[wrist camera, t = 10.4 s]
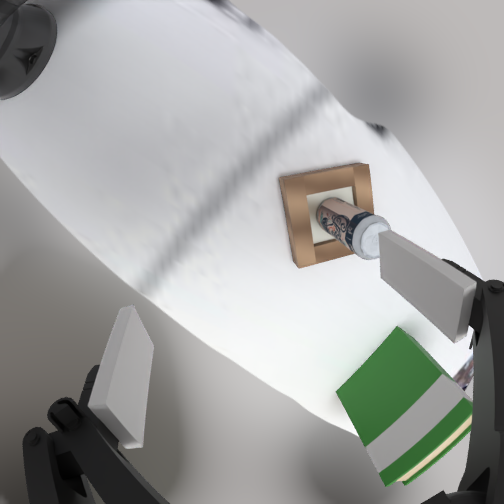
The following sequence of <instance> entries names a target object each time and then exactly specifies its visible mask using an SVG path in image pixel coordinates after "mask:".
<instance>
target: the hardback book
mask: <svg viewBox="0 0 504 504" xmlns="http://www.w3.org/2000/svg"><path fill="white" fill-rule="evenodd" d="M336 393H337V395H338V397H339V399H340V401H341V402H342V404H343V406H344V408H345V410H346V412H347V414H348V416H349V418H350V419H351V421H352V423H353V425H354V427H355V429H356V431H357V433H358V435H359V437H360V439H361V440H362V442H363V444H364V446H365V448H366V450H367V452H368V454H369V456H370V458H371V460H372V461H373V463H374V465H375V467H376V469H377V471H378V473H379V475H380V477H381V479H382V481H383V482H384V484H385V487H386V486H390V485H391V484H392V483H394V482H396V481H402V482H403V484H404V485H407V484H409V483H410V482H412V481H413V480H414V479H416V478H417V477H418V476H420V475H421V474H422V473H424V472H425V471H426V470H427V469H429V468H430V467H431V466H432V465H433V464H435V463H436V462H437V461H438V460H439V459H441V458H442V457H443V456H444V455H445V454H446V453H447V452H449V451H450V450H451V449H452V448H453V447H454V446H455V445H456V444H457V443H459V441H461V440H462V439H463V438H464V437H465V436H466V435H467V434H468V433H469V432H470V431H471V423H472V410H473V401H472V400H471V398H470V397H469V396H468V395H467V394H466V393H465V392H464V391H463V390H462V388H461V387H460V386H459V385H458V384H457V383H456V382H455V381H454V380H453V379H452V378H451V377H450V375H449V374H448V373H447V372H446V371H445V370H444V369H443V368H442V367H441V366H440V365H439V364H438V363H437V362H436V361H435V360H434V359H433V357H432V356H431V355H430V354H429V353H428V352H427V351H426V350H425V349H424V348H423V347H422V346H421V345H420V344H419V343H418V342H417V341H416V340H415V339H414V338H413V337H411V336H410V335H409V334H407V333H406V332H405V331H403V330H402V329H400V328H399V327H398V326H396V328H395V329H394V330H393V331H392V332H391V334H390V335H389V336H388V337H387V338H386V339H385V341H384V342H383V343H382V344H381V345H380V346H379V347H378V348H377V350H376V351H375V352H374V353H373V354H372V355H371V356H370V357H369V358H368V359H367V360H366V362H365V363H364V364H363V365H362V366H361V367H360V368H359V369H358V370H357V371H356V372H355V373H354V374H353V375H352V376H351V377H350V378H349V379H348V380H347V381H346V382H345V383H344V384H343V385H342V386H341V387H340V388H339V389H338V390H337V391H336Z"/></svg>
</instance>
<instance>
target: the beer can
mask: <svg viewBox="0 0 504 504" xmlns="http://www.w3.org/2000/svg"><path fill="white" fill-rule="evenodd" d="M317 221H318V223H319V225H320V227H321V228H322V229H323V230H325V231H326V232H327V233H329V234H330V235H331V236H333V237H334V238H335V239H337V240H338V241H339V242H341V243H342V244H343V245H345V246H346V247H347V248H349V249H350V250H351V251H352V252H354V253H355V254H356V255H358V256H359V257H361V258H362V259H366V260H372V259H377V258H379V257H380V251H379V235H378V233H380V232H383V231H387V230H391V228H390V225H389V224H388V222H387V221H386V220H385V219H384V218H383V217H380V216H377V215H374V214H372V213H370V212H368V211H366V210H363V209H361V208H359V207H357V206H355V205H352V204H350V203H348V202H345V201H344V200H342V199H340V198H337V197H332V198H329V199H326V200H325V201H324V202H323V203H322V204H321V205H320V207H319V208H318V211H317Z"/></svg>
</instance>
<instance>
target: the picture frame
mask: <svg viewBox="0 0 504 504" xmlns="http://www.w3.org/2000/svg"><path fill="white" fill-rule="evenodd" d="M279 182H280V187H281V192H282V198H283V203H284V209H285V215H286V220H287V226H288V232H289V238H290V244H291V250H292V256H293V262H294V263H295V264H296V266H297V267H298V268H303V267H307V266H310V265H314V264H318V263H322V262H325V261H329V260H333V259H337V258H340V257H344V256H347V255H351V254H355V253H354V252H352V251H351V250H350V249H349V248H347V247H346V246H345V245H343V244H342V243H341V242H339V241H338V240H337V239H335V238H334V237H333V236H331V235H330V234H329V233H327V232H326V231H325V230H323V229H322V228H321V227H320V225H319V223H318V221H317V211H318V208H319V207H320V205H321V204H322V203H323V202H324V201H325V200H326V199H329V198H332V197H337V198H340V199H342V200H344V201H345V202H348V203H350V204H352V205H355V206H357V207H359V208H361V209H363V210H366V211H368V212H370V213H372V214H374V207H373V196H372V187H371V177H370V169H369V164H363V163H356V164H350V165H344V166H338V167H332V168H327V169H321V170H316V171H310V172H305V173H300V174H295V175H290V176H285V177H280V178H279Z"/></svg>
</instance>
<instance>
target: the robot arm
mask: <svg viewBox="0 0 504 504" xmlns="http://www.w3.org/2000/svg"><path fill="white" fill-rule="evenodd" d="M26 1H27V0H0V99H7V98H11V97H13V96H15V95H17V94H19V93H21V92H22V91H23V90H25V89H26V88H27V87H28V86H29V85H31V84H32V83H33V81H34V80H35V79H36V78H37V77H38V76H39V74H40V73H41V72H42V70H43V69H44V67H45V66H46V64H47V62H48V60H49V58H50V56H51V54H52V51H53V49H54V45H55V41H56V35H57V26H56V22H55V19H54V17H53V16H52V14H51V13H50V12H49V11H47V10H46V9H45V8H43V7H42V6H39V5H36V4H23V3H25V2H26ZM378 235H379V251H380V272H381V278H382V279H383V280H384V281H385V282H386V283H387V284H389V285H390V286H391V287H392V288H393V289H394V290H396V291H397V292H398V293H399V294H400V295H401V296H402V297H404V298H405V299H406V300H407V301H408V302H409V303H410V304H412V305H413V306H414V307H415V308H416V309H417V310H418V311H419V312H421V313H422V314H423V315H424V316H425V317H426V318H427V319H428V320H429V321H430V322H432V323H433V324H434V325H435V326H436V327H437V328H438V329H439V330H440V331H441V332H442V333H443V334H445V335H446V336H447V337H448V338H449V339H450V340H451V341H452V342H453V343H454V344H455V343H456V342H458V341H460V340H461V339H463V338H464V337H466V335H467V331H468V327H469V326H471V327H472V328H473V329H474V331H473V335H472V339H471V343H470V347H469V349H471V348H472V345H473V362H474V385H473V386H474V387H473V410H472V423H471V434H470V442H469V450H468V458H467V463H466V469H465V473H464V475H463V477H462V480H461V482H460V484H459V487H458V491H457V492H454V493H450V494H445V492H444V491H441V492H440V493H438V494H436V495H435V496H433V497H431V498H430V499H428V500H426V501H425V502H423V503H421V504H504V282H502V281H499V280H488V281H486V282H485V281H483V280H481V279H480V278H478V277H477V276H475V275H474V274H472V273H471V272H469V271H466V269H464V268H463V267H460V266H459V265H458V264H456V263H454V262H453V261H449V260H446V259H440V258H438V257H436V256H435V255H433V254H431V253H430V252H428V251H426V250H425V249H423V248H421V247H420V246H418V245H416V244H414V243H413V242H411V241H409V240H407V239H406V238H404V237H402V236H400V235H399V234H397V233H395V232H393V231H392V230H387V231H383V232H380V233H378ZM153 350H154V345H153V343H152V342H151V339H150V337H149V336H148V333H147V331H146V330H145V327H144V325H143V323H142V321H141V319H140V317H139V315H138V313H137V311H136V309H135V307H134V305H130V306H126V307H122V308H120V310H119V313H118V316H117V318H116V321H115V324H114V326H113V329H112V332H111V335H110V337H109V340H108V343H107V346H106V349H105V352H104V355H103V358H102V361H101V364H100V365H95V366H94V367H93V368H92V369H91V371H90V372H89V373H88V375H87V378H86V381H85V383H86V384H84V387H83V391H82V393H81V397H80V400H79V403H78V405H77V404H76V402H75V401H73V399H72V398H68V397H65V398H61V399H59V400H57V401H56V402H54V403H53V404H52V405H51V407H50V409H49V410H48V414H47V416H48V420H49V421H50V422H51V423H52V424H53V425H54V426H55V427H56V428H57V429H58V431H55V432H52V433H49V434H48V433H47V432H46V431H45V430H43V429H42V428H41V427H35V428H32V429H31V430H29V431H28V432H27V433H26V435H25V436H24V439H23V457H24V468H25V476H26V484H27V491H28V497H29V502H30V504H96V503H95V500H94V498H93V495H92V492H91V489H90V487H89V484H88V480H89V481H90V483H91V484H92V486H93V487H94V488H95V490H96V491H97V493H98V494H99V496H100V497H101V498H102V500H103V501H104V502H105V503H106V504H170V503H169V502H168V501H167V500H166V499H165V498H163V497H162V496H161V495H160V494H159V493H158V492H157V491H156V490H155V489H154V488H153V487H152V486H151V485H150V484H149V483H148V482H147V481H146V480H145V479H144V477H143V476H142V475H141V474H140V473H139V472H138V471H137V470H136V469H135V468H134V467H133V465H132V464H131V463H130V462H129V461H128V460H127V459H126V458H125V456H124V455H123V454H122V453H121V452H120V451H119V450H118V442H120V443H121V444H122V445H123V446H124V447H125V448H126V449H129V448H139V447H143V438H144V426H145V416H146V406H147V397H148V388H149V380H150V372H151V365H152V357H153ZM86 476H87V477H86ZM87 478H88V480H87Z"/></svg>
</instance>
